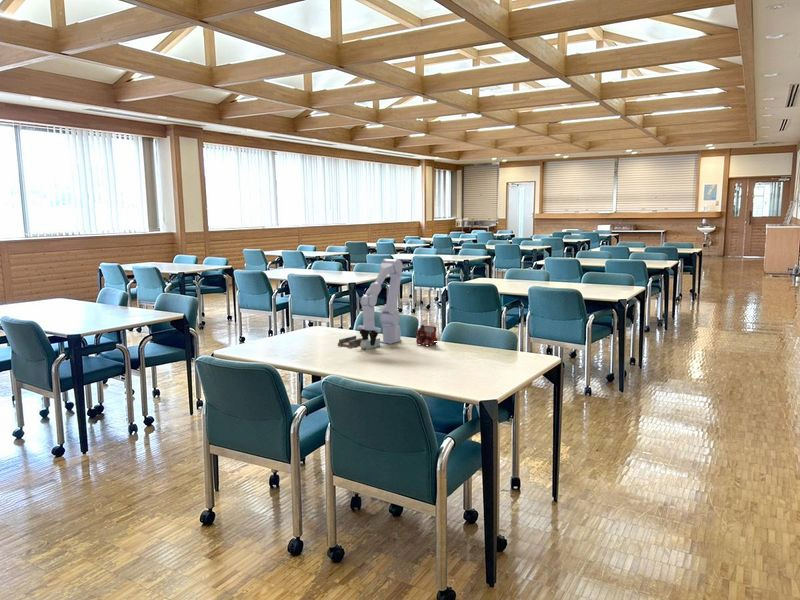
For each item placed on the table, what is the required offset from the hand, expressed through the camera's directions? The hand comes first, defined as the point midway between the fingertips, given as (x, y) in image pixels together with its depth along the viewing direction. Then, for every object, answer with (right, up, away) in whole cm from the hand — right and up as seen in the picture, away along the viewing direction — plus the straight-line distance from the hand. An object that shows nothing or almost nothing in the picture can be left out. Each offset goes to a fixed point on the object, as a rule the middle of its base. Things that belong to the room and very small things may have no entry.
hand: (369, 344), depth 302 cm
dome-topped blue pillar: (0, -1, 0) cm, 1 cm away
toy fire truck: (+29, -1, +4) cm, 30 cm away
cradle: (-9, 0, +8) cm, 12 cm away
